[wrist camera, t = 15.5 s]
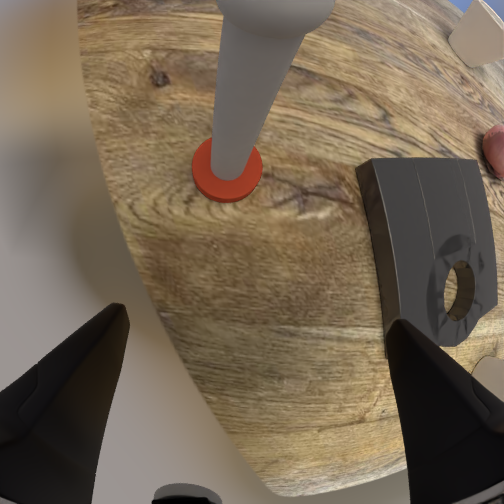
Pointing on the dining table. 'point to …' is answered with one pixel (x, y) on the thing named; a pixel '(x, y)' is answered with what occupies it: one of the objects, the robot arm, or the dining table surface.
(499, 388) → the mug
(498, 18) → the cup
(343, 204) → the dining table surface
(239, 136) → the stopper
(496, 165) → the onion
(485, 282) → the sink board
